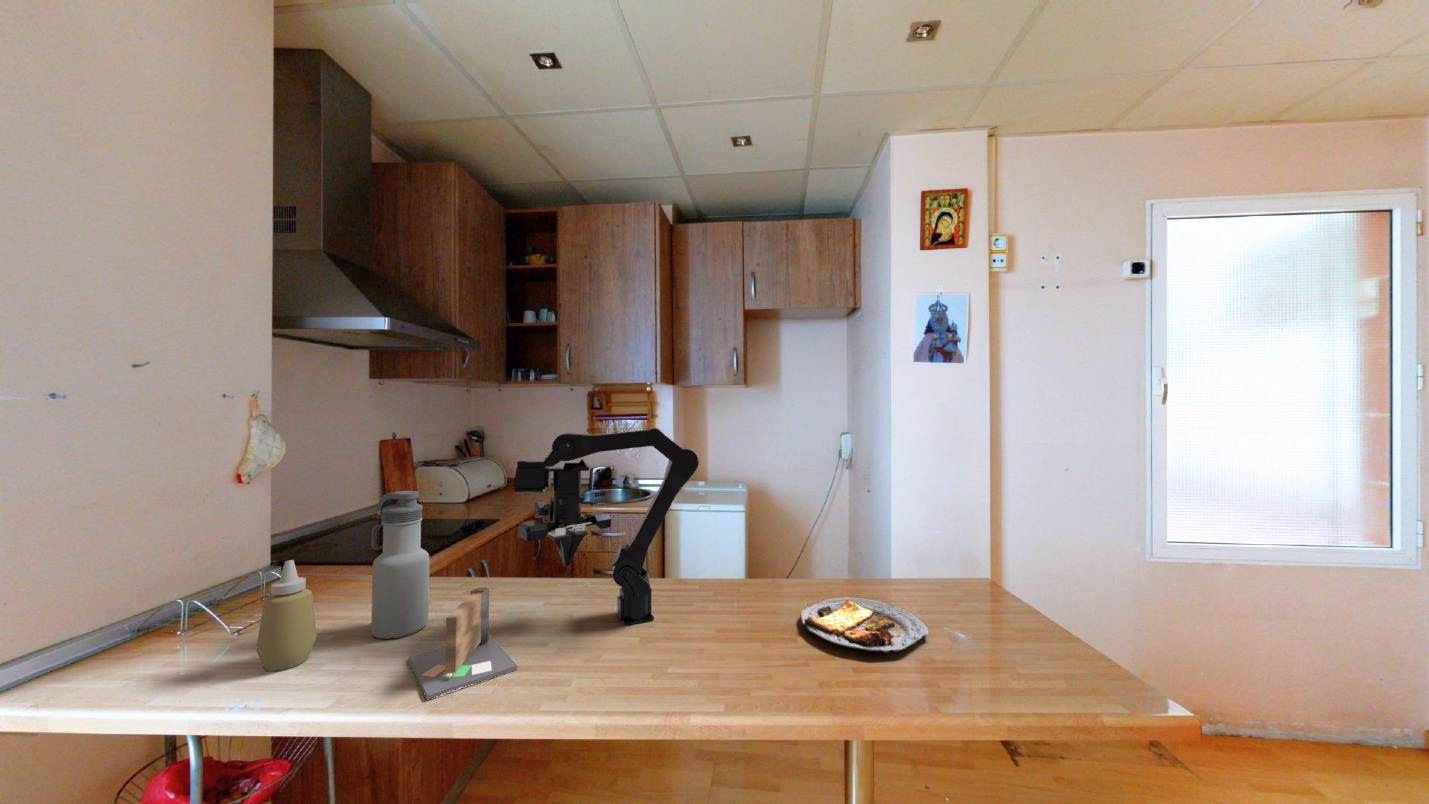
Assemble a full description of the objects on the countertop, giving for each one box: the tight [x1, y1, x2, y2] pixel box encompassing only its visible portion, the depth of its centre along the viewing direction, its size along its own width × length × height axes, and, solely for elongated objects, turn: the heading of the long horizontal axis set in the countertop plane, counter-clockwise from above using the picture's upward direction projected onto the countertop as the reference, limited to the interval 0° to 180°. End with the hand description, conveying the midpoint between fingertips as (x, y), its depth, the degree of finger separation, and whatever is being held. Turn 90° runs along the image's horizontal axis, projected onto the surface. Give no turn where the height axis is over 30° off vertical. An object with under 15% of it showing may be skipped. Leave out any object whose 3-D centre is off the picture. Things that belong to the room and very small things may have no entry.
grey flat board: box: [407, 633, 518, 700], centre depth 84 cm, size 16×14×1 cm
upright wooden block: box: [445, 587, 490, 679], centre depth 85 cm, size 15×3×9 cm, turn 5°
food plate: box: [799, 597, 929, 655], centre depth 99 cm, size 25×23×4 cm
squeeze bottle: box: [255, 559, 318, 672], centre depth 85 cm, size 8×8×18 cm
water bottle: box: [370, 490, 430, 640], centre depth 98 cm, size 10×10×28 cm
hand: (566, 565), depth 102 cm, fingers closed
